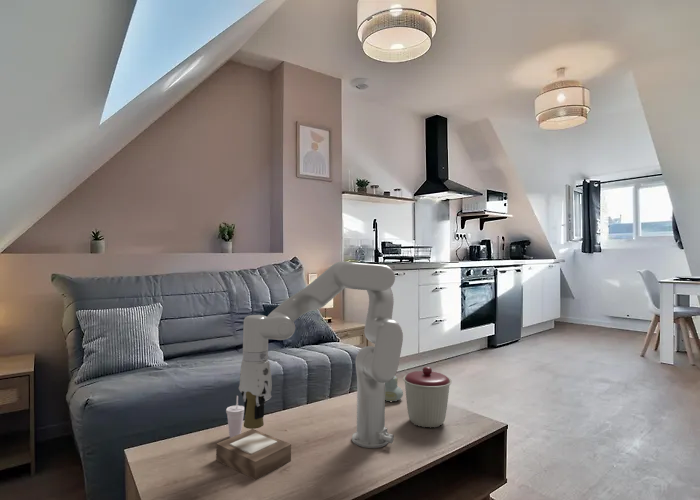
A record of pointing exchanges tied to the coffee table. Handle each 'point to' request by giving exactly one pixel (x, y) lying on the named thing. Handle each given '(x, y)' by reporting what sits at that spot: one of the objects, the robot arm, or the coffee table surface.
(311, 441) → the coffee table surface
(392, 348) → the robot arm
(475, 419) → the coffee table surface
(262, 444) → the pedestal
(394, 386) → the air freshener
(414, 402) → the canister
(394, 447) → the coffee table surface
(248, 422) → the cork
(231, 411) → the smoothie
